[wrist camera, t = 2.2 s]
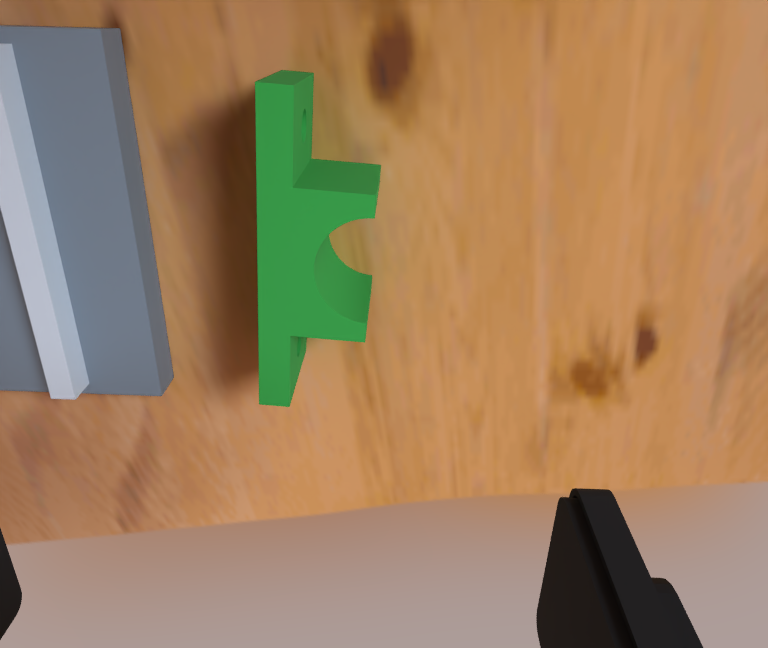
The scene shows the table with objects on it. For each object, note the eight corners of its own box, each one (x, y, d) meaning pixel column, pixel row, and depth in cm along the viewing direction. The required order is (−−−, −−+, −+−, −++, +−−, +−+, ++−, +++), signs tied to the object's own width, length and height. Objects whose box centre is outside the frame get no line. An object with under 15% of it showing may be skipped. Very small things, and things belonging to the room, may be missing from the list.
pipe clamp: (367, 352, 27) (359, 414, 23) (281, 344, 27) (258, 405, 23) (388, 77, 22) (384, 93, 17) (282, 68, 21) (253, 82, 17)
